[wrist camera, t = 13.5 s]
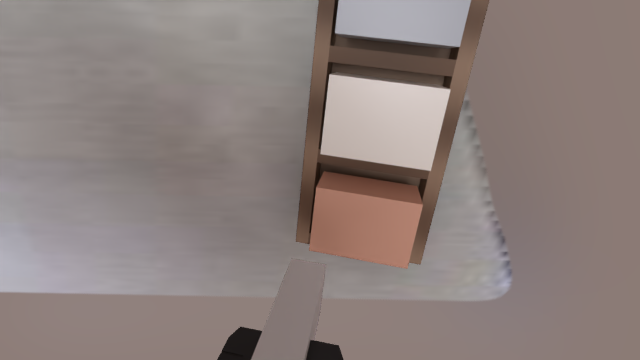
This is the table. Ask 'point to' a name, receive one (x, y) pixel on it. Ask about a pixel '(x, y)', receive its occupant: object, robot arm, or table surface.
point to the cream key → (383, 120)
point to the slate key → (404, 21)
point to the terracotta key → (365, 219)
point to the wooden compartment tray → (390, 64)
